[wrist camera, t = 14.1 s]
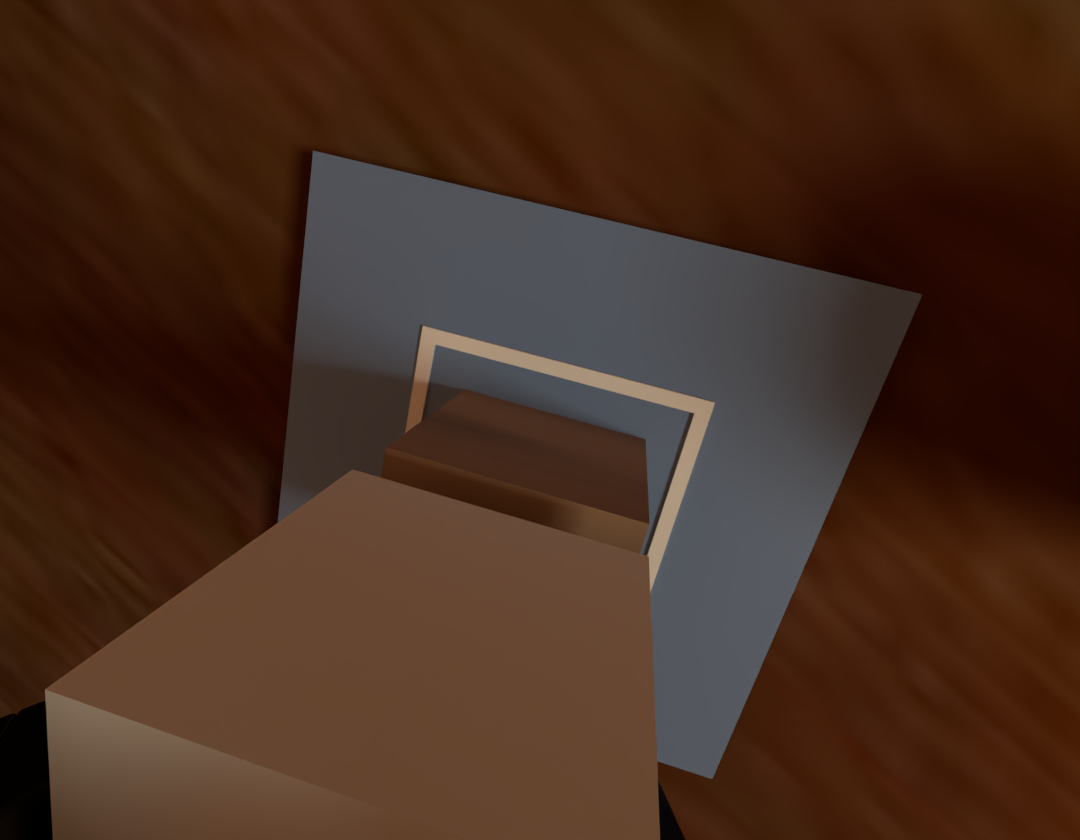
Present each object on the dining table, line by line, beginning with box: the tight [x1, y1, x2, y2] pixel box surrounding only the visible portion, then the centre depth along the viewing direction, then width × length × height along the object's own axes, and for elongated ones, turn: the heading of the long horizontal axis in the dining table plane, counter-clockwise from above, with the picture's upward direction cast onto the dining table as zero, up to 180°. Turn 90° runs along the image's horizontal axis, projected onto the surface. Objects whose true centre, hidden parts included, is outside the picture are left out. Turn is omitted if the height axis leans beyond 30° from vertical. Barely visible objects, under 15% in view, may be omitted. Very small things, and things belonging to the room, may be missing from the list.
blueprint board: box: [278, 151, 922, 779], centre depth 16 cm, size 15×15×1 cm
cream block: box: [45, 469, 660, 840], centre depth 7 cm, size 5×5×5 cm
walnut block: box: [381, 389, 650, 554], centre depth 13 cm, size 5×5×5 cm
